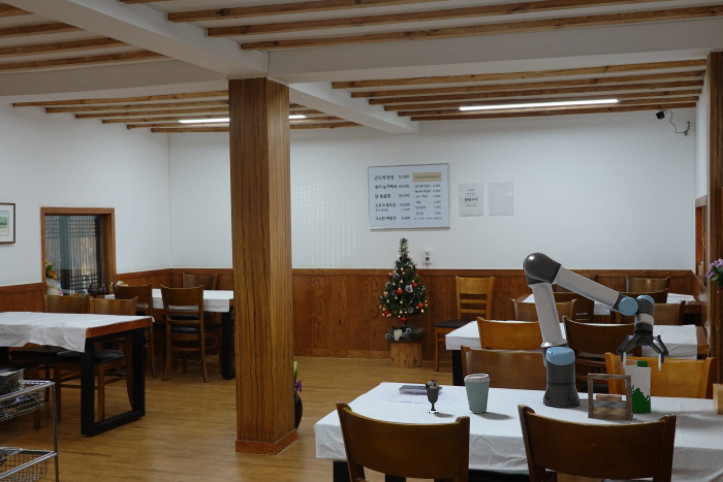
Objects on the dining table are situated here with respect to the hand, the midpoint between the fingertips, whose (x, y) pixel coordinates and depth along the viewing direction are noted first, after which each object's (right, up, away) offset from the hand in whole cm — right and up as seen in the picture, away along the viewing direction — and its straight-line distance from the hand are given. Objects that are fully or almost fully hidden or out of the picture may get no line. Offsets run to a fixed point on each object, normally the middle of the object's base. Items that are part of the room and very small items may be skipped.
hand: (641, 368), depth 310 cm
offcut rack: (-18, -17, -15) cm, 29 cm away
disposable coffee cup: (-66, -18, 0) cm, 69 cm away
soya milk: (-3, -17, -5) cm, 18 cm away
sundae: (-84, -18, +2) cm, 86 cm away
